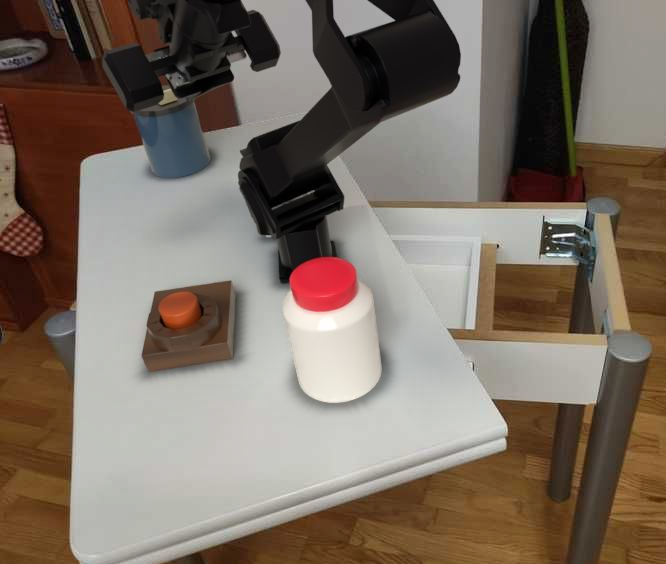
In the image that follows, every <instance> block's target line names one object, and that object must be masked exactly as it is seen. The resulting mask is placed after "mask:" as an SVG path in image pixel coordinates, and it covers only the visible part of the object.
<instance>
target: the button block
mask: <svg viewBox="0 0 666 564" xmlns="http://www.w3.org/2000/svg"><path fill="white" fill-rule="evenodd" d="M178 292H189V293H192V294H194V295H195V296H196V297H197V300H198V302H199V305H200V308H201V311H202V316H201V318H200V319H199V320H198V321H197V322H196V323H194V324H192V325H190V326H188V327H186V328H181V329H170V328H167V327H166V326H165V325H164V322H163V320H162V317H161V315H160V312H159V309H158V308H159V304H160V303H161V301H162V300H163V299H164V298H166V297H167V296H169V295H171V294H174V293H178ZM236 303H237V296H236V291H235V289H234V285H233V281H232V280H223V281H217V282H210V283H204V284H197V285H189V286H184V287H177V288H176V287H175V288H169V289H163V290H156V291H154V294H153V298H152V303H151V308H150V311H149V313H148V316H147V321H146V331H145V337H144V342H143V347H142V351H141V358H142V361H143V364H144V365H145V367H146V369H147V372H148V373H154V372H161V371H166V370H173V369H179V368H186V367H193V366H199V365H204V364H205V365H206V364H212V363H218V362H223V361H224V362H225V361H231V360H233V359H234V343H235V342H234V341H235V339H234V338H235V321H236Z"/></svg>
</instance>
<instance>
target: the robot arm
mask: <svg viewBox="0 0 666 564" xmlns="http://www.w3.org/2000/svg"><path fill="white" fill-rule="evenodd" d="M367 1H368V2H369V3H370V4H371V5H373V6H374V7H376V8H377V9H378V10H380V11H382V13H384V14H385V15H387V16H388V17H390V18H391V19H392V20H393V21H390V22H386V23H383V24H380V25H377V26H374V27H371V28H368V29H365V30H362V31H359V32H355V33H352V34H349V35H346V36H345V34H344V33H343V31H342V29H341V28H340V26H339V25H338V23H337V21H336V20H335V16H334V15H335V14H334V13H335V12H334V0H305V2H306V4H307V6H308V7H309V9H310V11H311V33H312V35H311V36H312V54H313V56H314V58H315V59H316V61H317V63H318V64H319V66H320V68H321V69H322V71H323V73H324V75H325V76H326V78H327V79H328V81H329V84H330V86H331V87H330V88H329V89H328V90H327V92H326V93H324V95H323V96H322V97H321V98H320V99H319V100H318V101H317V102H316V103H315V104H314V105H313V106H312V107H311V109H309V110H308V111H307V113H306V114H305V115H304V116H303V117H302V118H301V119H300V120H297V121H295V122H292V123H289V124H287V125H284V126H280V127H277V128H276V129H273V130H270V131H267V132H265V133H262V134H260V135H256V136H253V137H252V138H251V139H250V140H249V141H248V143H247V145H246V147H245V148H243V149H240V150H239V153H240V155H241V156H242V158H240V162H239V171H238V173H237V180H238V181H237V184H238V186H239V187H238V189H239V191H240V194H241V195H242V198H243V199H244V202H245V204H246V207H247V209H248V211H249V216H250V217H251V218H252V220H253V222H254V224H255V226H256V231H257V233H258V235H260V236H266V235H268V236H269V235H271V236H272V237H271V238H273V239H274V240H276V243H277V247H278V249H277V253H278V254H277V255H278V281H279V283H281V284H282V285H283V284H290V276H291V274H292V272H293V271H294V270H295V269H296V268H297V267H298V266H300V265H301V264H303V263H305V262H307V261H309V260H312V259H316V258H322V257H336V258H338V257H337V251H336V243H335V241H334V240H331V236H330V230H329V224H328V218H327V217H328V216H330V215H331V214H334V213H336V212H341V211H342V210H344V205H345V195H344V192H343V191H342V189H341V187H340V185H339V183H338V182H337V180H336V179H335V177H334V174H333V173H332V172H331V170H330V167H329V166H328V164H330V163H331V162H332V161H333V160H335V159H336V158H338V157H339V156H340V155H342V153H344V152H345V151H347V149H349V148H350V147H352V146H353V145H354V144H355V143H356V142H357V141H358V142H359V140H360V139H362V138H363V137H364V136H366V135H367V134H368V133H369V132H371V131H372V130H373V129H375V127H377V126H378V125H380V124H381V123H383V122H385V121H388V120H390V119H393V118H394V117H397V116H400V115H402V114H405V113H407V112H410V111H413V110H416V109H417V108H420V107H422V106H425V105H428V104H430V103H432V102H433V103H434V102H435V101H437V100H440V99H443V98H445V97H447V96H450V95H452V94H453V93H454V91H456V89H457V88H458V86H459V83H460V81H461V74H460V73H459V69H460V66H461V62H462V61H461V58H462V54H461V48H460V43H459V41H458V39H457V37H456V35H455V33H454V32H453V30H452V28H451V27H450V25H449V23H448V21H447V20H446V18H445V16H444V15H443V14H442V12H441V10H440V9H439V6H438V5H437V3H436V2H435V0H367ZM127 4H128V7H129V8H130V10H131V11H132V13H133V14H134V15H135V17H136V18H137V19H138V20H140V21H143V20H146V19H149V20H155V22H156V23H157V24H158V27H157V28H158V29H157V36H159V39H160V40H161V43H162V44H163V45H164V44H168V45H166V46H163V47H159V48H156V49H154V50H153V52H150V53H145V51H144V50H143V48H142V46H141V45H140V44H138V43H137V42H133V43H129V44H126V45H122V46H118V47H114V48H111V49H108V50H104V52H103V55H102V58H101V60H102V61H101V62H102V63H101V66H102V69H103V71H104V73H105V74H106V76H107V78H108V79H109V81H110V83H111V85H112V86H113V88H114V90H115V92H116V94H117V96H119V99H120V101H121V103H122V104H123V106H124V108H125V110H127V111H128V112H129V111H132V112H136V111H139V110H142V109H145V108H148V107H152V106H155V105H157V104H158V103H159V102H161V101H162V100H163V99H164V92H163V89H162V86H163V85H162V82H161V80H160V78H159V77H163V78H164V79H165V82H166V83H167V85H169V87H170V88H171V90H172V92H173V94H174V96H175V97H177V98H179V99H182V98H186V100H187V101H190V100H193V99H195V98H196V99H197V98H199V97H202V96H203V95H204V96H205V94H209V93H210V92H212V91H214V90H216V89H219V88H222V87H223V86H225V85H228V84H230V83H233V81H234V80H235V75H234V73H233V71H232V69H231V68H232V64H233V63H237V62H240V61H243V60H246V59H247V56H248V58H249V60H250V65H249V67H250V69H251V70H252V72H255V73H258V72H262V71H265V70H268V69H271V68H275V67H276V66H277V65H278V62H279V60H280V58H281V45H280V44H279V42H278V40H277V38H276V37H275V35H274V33H273V31H272V29H271V27H270V26H269V24H268V22H267V21H266V18H265V17H264V15H263V14H262V13H260V12H259V11H258V10H255V9H251V10H247V9H246V6H245V5H244V3H243V1H242V0H127ZM233 32H234V33H235V34H236V36H234V33H233ZM196 99H195V100H196ZM306 193H307V194H308V195H305V196H303V197H301V198H298V199H296V200H294V201H292V202H289V203H286V204H283V203H285V202H287V201H290V200H292V199H294V198H297V197H299V196H301V195H304V194H306ZM280 204H283V205H282V206H280V207H278V208H275V209H273V210H272V209H271V208H273V207H276V206H278V205H280Z"/></svg>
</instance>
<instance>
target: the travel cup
mask: <svg viewBox="0 0 666 564" xmlns="http://www.w3.org/2000/svg"><path fill="white" fill-rule="evenodd" d="M162 89H163V91H164V90H168V89H171V88H170V87H169V85H168V84H167V85H162ZM196 99H197V98H195V99H193V100H190V101H187V100H186V98H182V99H179V98H177V100H176V101H173V102H170V103H166V104H163V105H160V104H157V105H155V106H152V107H148V108H145V109H142V110H139V111H136V112H132V111H129V110H128V112H129V113H130V114H131V115H132V117H133V121H134V123H135V125H136V128H137V131H138V134H139V137H140V140H141V142H142V146H143V149H144V151H145V155H146V158H147V160H148V164H149V165H150V169H151V171H152V173H153V174H154V175H156V176H157V177H160V178H165V179H166V178H167V179H175V178H183V177H186V176H190V175H194V174H196V173H198V172H200V171H202V170H204V169H205V168H206V167H207V166H208V165H209V163H210V162H211V156H210V152H209V148H208V145H207V141H206V138H205V133H204V130H203V127H202V123H201V119H200V116H199V112H198V109H197V105H196V102H195V101H196Z"/></svg>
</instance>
